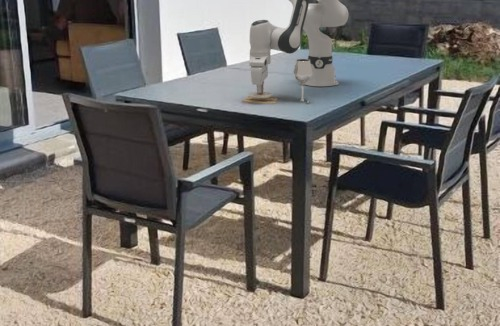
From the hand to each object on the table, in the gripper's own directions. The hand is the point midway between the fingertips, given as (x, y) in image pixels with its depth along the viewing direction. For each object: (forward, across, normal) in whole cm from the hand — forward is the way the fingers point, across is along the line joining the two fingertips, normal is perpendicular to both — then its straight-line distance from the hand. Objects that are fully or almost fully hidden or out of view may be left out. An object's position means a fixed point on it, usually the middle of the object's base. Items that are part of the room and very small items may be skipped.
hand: (260, 91), depth 276 cm
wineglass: (+4, -1, +18) cm, 19 cm away
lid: (+2, 0, 0) cm, 2 cm away
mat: (+4, 0, 0) cm, 4 cm away
